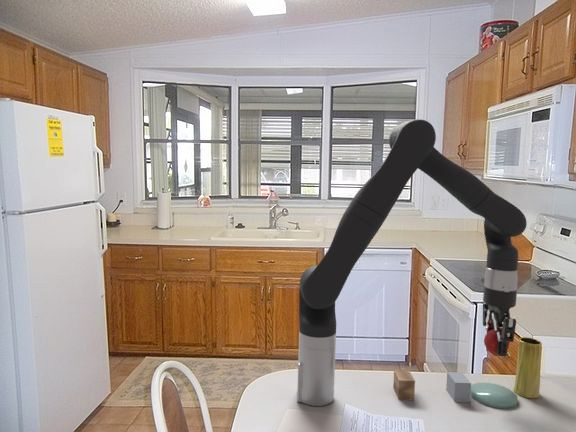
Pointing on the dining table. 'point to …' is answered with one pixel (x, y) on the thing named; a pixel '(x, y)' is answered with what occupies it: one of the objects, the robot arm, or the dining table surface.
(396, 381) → the walnut block
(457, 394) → the slate block
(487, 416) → the dining table surface
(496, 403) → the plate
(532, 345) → the vase
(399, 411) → the dining table surface
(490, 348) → the onion
